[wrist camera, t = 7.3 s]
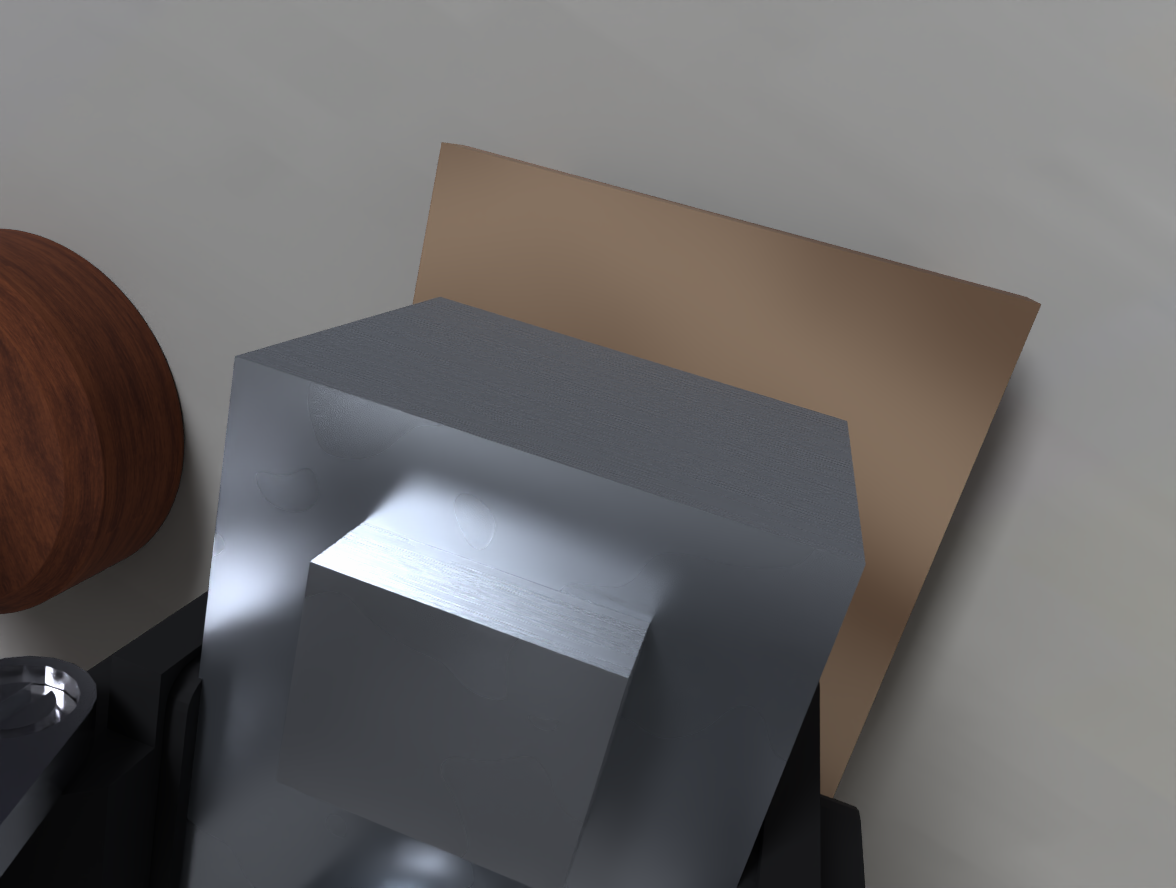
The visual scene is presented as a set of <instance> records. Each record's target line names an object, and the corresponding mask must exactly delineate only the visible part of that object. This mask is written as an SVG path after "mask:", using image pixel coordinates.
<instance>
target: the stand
mask: <svg viewBox="0 0 1176 888" xmlns="http://www.w3.org/2000/svg"><path fill="white" fill-rule="evenodd" d="M437 297H443V298H446V299H449V300H453V301H456V302H459V303H462V304H466V305H469V306H472V307H476V308H479V309H482V310H485V311H489V312H492V313H495V314H498V315H502V316H505V317H508V318H512V319H515V320H518V321H521V322H525V323H528V324H531V325H534V326H538V327H541V328H544V329H548V330H551V331H554V332H557V333H561V334H564V335H567V336H570V337H574V338H577V339H580V340H584V341H587V342H590V343H593V344H597V345H600V346H603V347H607V348H610V349H613V350H616V351H620V352H623V353H626V354H629V355H633V356H636V357H639V358H643V359H646V360H649V361H652V362H656V363H659V364H662V365H665V366H669V367H672V368H675V369H679V370H682V371H685V372H688V373H692V374H695V375H698V376H702V377H705V378H708V379H711V380H715V381H718V382H721V383H724V384H728V385H731V386H734V387H738V388H741V389H744V390H747V391H751V392H754V393H757V394H760V395H764V396H767V397H770V398H774V399H777V400H780V401H783V402H787V403H790V404H793V405H796V406H800V407H803V408H806V409H810V410H813V411H816V412H819V413H823V414H826V415H829V416H833V417H836V418H839V419H842V420H846V421H847V423H848V431H849V438H850V446H851V454H852V462H853V470H854V478H855V485H856V493H857V501H858V509H859V517H860V525H861V532H862V540H863V548H864V556H865V564H866V565H865V567H864V570H863V572H862V575H861V577H860V580H859V582H858V585H857V587H856V590H855V592H854V595H853V597H852V600H851V602H850V605H849V607H848V610H847V612H846V615H845V617H844V620H843V622H842V625H841V627H840V630H839V632H838V635H837V637H836V640H835V642H834V645H833V647H832V650H831V652H830V655H829V657H828V660H827V662H826V665H825V667H824V670H823V672H822V675H821V677H820V680H819V682H820V794H822V795H825V796H828V797H830V798H833V797H834V794H835V792H836V790H837V787H838V785H839V782H840V780H841V778H842V775H843V773H844V771H845V768H846V766H847V763H848V761H849V759H850V756H851V754H852V752H853V749H854V747H855V745H856V742H857V740H858V737H859V735H860V733H861V730H862V728H863V726H864V723H865V721H866V718H867V716H868V714H869V711H870V709H871V707H872V704H873V702H874V699H875V697H876V695H877V692H878V690H879V688H880V685H881V683H882V680H883V678H884V676H885V673H886V671H887V669H888V666H889V664H890V662H891V659H892V657H893V654H894V652H895V650H896V647H897V645H898V643H899V640H900V638H901V635H902V633H903V631H904V628H905V626H906V624H907V621H908V619H909V616H910V614H911V612H912V609H913V607H914V605H915V602H916V600H917V598H918V595H919V593H920V590H921V588H922V586H923V583H924V581H925V579H926V576H927V574H928V571H929V569H930V567H931V564H932V562H933V560H934V557H935V555H936V552H937V550H938V548H939V545H940V543H941V541H942V538H943V536H944V533H945V531H946V529H947V526H948V524H949V522H950V519H951V517H952V515H953V512H954V510H955V507H956V505H957V503H958V500H959V498H960V496H961V493H962V491H963V488H964V486H965V484H966V481H967V479H968V477H969V474H970V472H971V469H972V467H973V465H974V462H975V460H976V458H977V455H978V453H979V451H980V448H981V446H982V443H983V441H984V439H985V436H986V434H987V432H988V429H989V427H990V424H991V422H992V420H993V417H994V415H995V413H996V410H997V408H998V405H999V403H1000V401H1001V398H1002V396H1003V394H1004V391H1005V389H1006V387H1007V384H1008V382H1009V379H1010V377H1011V375H1012V372H1013V370H1014V368H1015V365H1016V363H1017V360H1018V358H1019V356H1020V353H1021V351H1022V349H1023V346H1024V344H1025V341H1026V339H1027V337H1028V334H1029V332H1030V330H1031V327H1032V325H1033V322H1034V320H1035V318H1036V315H1037V313H1038V311H1039V308H1040V306H1041V304H1040V303H1037V302H1035V301H1033V300H1031V299H1029V298H1027V297H1024V296H1021V295H1017V294H1013V293H1010V292H1006V291H1002V290H999V289H995V288H991V287H987V286H984V285H980V284H976V283H973V282H969V281H965V280H961V279H958V278H954V277H950V276H947V275H943V274H939V273H936V272H932V271H928V270H924V269H921V268H917V267H913V266H910V265H906V264H902V263H898V262H895V261H891V260H887V259H884V258H880V257H876V256H872V255H869V254H865V253H861V252H858V251H854V250H850V249H847V248H843V247H839V246H835V245H832V244H828V243H824V242H821V241H817V240H813V239H809V238H806V237H802V236H798V235H795V234H791V233H787V232H784V231H780V230H776V229H772V228H769V227H765V226H761V225H758V224H754V223H750V222H746V221H743V220H739V219H735V218H732V217H728V216H724V215H720V214H717V213H713V212H709V211H706V210H702V209H698V208H695V207H691V206H687V205H683V204H680V203H676V202H672V201H669V200H665V199H661V198H657V197H654V196H650V195H646V194H643V193H639V192H635V191H632V190H628V189H624V188H620V187H617V186H613V185H609V184H606V183H602V182H598V181H594V180H591V179H587V178H583V177H580V176H576V175H572V174H568V173H565V172H561V171H557V170H554V169H550V168H546V167H543V166H539V165H535V164H531V163H528V162H524V161H520V160H517V159H513V158H509V157H505V156H502V155H498V154H494V153H491V152H487V151H483V150H480V149H476V148H472V147H468V146H465V145H458V144H451V143H443V142H442V143H441V149H440V155H439V160H438V166H437V171H436V177H435V182H434V188H433V194H432V199H431V205H430V210H429V216H428V221H427V227H426V233H425V238H424V244H423V249H422V255H421V260H420V266H419V272H418V277H417V283H416V288H415V294H414V299H413V304H417V303H420V302H423V301H427V300H430V299H434V298H437Z"/></svg>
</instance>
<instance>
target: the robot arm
mask: <svg viewBox="0 0 1176 888" xmlns="http://www.w3.org/2000/svg"><path fill="white" fill-rule="evenodd" d="M207 600H208V591H207V592H205V593H204V594H202V595H201V596H199V597H198V598H196V599H195V600H193V601H192V602H190V603H189V604H187V605H186V606H184V607H183V608H181V609H180V610H178V611H177V612H175V613H174V614H172V615H171V616H169V617H168V618H166V619H165V620H163V621H162V622H160V623H159V624H157V625H156V626H154V627H153V628H151V629H150V630H148V631H147V632H145V633H144V634H142V635H141V636H139V637H138V638H136V639H135V640H133V641H132V642H130V643H129V644H127V645H126V646H124V647H123V648H121V649H120V650H118V651H117V652H115V653H114V654H112V655H111V656H109V657H108V658H106V659H105V660H103V661H102V662H100V663H99V664H97V665H96V666H94V667H93V668H91V669H90V670H88V671H87V672H86V671H85V670H83V669H81V668H80V667H78V666H77V665H75V664H73V663H70V662H66V661H63V660H59V659H56V658H50V657H37V656H23V657H11V658H3V659H0V888H179V886H180V877H181V868H182V859H183V850H184V841H185V832H186V823H187V814H188V805H189V796H190V787H191V778H192V769H193V760H194V751H195V742H196V732H197V723H198V714H199V705H200V696H201V687H202V679H201V678H199V671H200V662H201V653H202V644H203V635H204V626H205V617H206V609H207ZM737 888H865V879H864V864H863V849H862V834H861V820H860V815H859V811H858V809H857V808H856V807H854V806H852V805H849V804H846V803H844V802H841V801H838V800H836V799H833V798H830V797H828V796H825V795H822V794H820V682H818V685H817V687H816V690H815V692H814V695H813V697H812V700H811V702H810V705H809V707H808V710H807V712H806V715H805V717H804V720H803V722H802V725H801V727H800V730H799V732H798V735H797V737H796V740H795V742H794V745H793V747H792V750H791V752H790V755H789V757H788V760H787V762H786V765H785V767H784V770H783V772H782V775H781V777H780V780H779V782H778V785H777V787H776V790H775V792H774V795H773V797H772V800H771V802H770V805H769V807H768V810H767V812H766V815H765V817H764V820H763V822H762V825H761V827H760V830H759V832H758V835H757V837H756V840H755V842H754V845H753V847H752V850H751V852H750V855H749V858H748V860H747V863H746V865H745V868H744V870H743V873H742V875H741V878H740V880H739V883H738V885H737Z"/></svg>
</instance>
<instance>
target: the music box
mask: <svg viewBox="0 0 1176 888" xmlns="http://www.w3.org/2000/svg"><path fill="white" fill-rule="evenodd" d="M183 454H184V434H183V423H182V415H181V409H180V404H179V399H178V395H177V391H176V388H175V385H174V381H173V378H172V375H171V373H170V370H169V367H168V365H167V362H166V360H165V357H164V355H163V353H162V351H161V349H160V347H159V345H158V343H157V341H156V339H155V337H154V336H153V334H152V332H151V331H150V329H149V327H148V326H147V324H146V322H145V321H144V319H143V318H142V317H141V315H140V314H139V312H138V311H137V310H136V308H135V307H134V306H133V304H132V303H131V302H130V301H129V299H128V298H127V297H126V296H125V295H124V294H123V293H122V291H121V290H120V289H119V288H118V287H117V286H116V285H115V284H114V283H113V282H112V281H111V280H110V279H109V278H108V277H107V276H105V275H104V274H103V273H102V272H101V271H100V270H99V269H97V268H96V267H95V266H93V265H92V264H91V263H90V262H88V261H87V260H85V259H84V258H82V257H81V256H80V255H78V254H76V253H75V252H73V251H71V250H70V249H68V248H66V247H64V246H62V245H60V244H58V243H56V242H54V241H51V240H49V239H46V238H44V237H41V236H38V235H35V234H31V233H27V232H23V231H18V230H11V229H0V614H6V613H13V612H18V611H22V610H25V609H28V608H31V607H34V606H36V605H39V604H41V603H43V602H45V601H47V600H48V599H50V598H52V597H54V596H56V595H58V594H60V593H62V592H63V591H65V590H67V589H69V588H71V587H73V586H75V585H77V584H78V583H80V582H82V581H84V580H86V579H88V578H90V577H92V576H93V575H95V574H97V573H99V572H101V571H103V570H105V569H107V568H108V567H110V566H112V565H114V564H116V563H118V562H120V561H122V560H123V559H125V558H127V557H129V556H130V555H132V554H133V553H135V552H136V551H138V550H139V549H140V548H141V547H143V546H144V545H145V544H146V543H147V542H148V541H149V540H150V539H151V538H152V537H153V536H154V534H155V533H156V532H157V531H158V529H159V528H160V526H161V525H162V523H163V522H164V520H165V519H166V517H167V515H168V513H169V511H170V509H171V507H172V505H173V502H174V499H175V497H176V494H177V490H178V487H179V483H180V478H181V473H182V466H183Z"/></svg>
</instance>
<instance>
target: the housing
mask: <svg viewBox="0 0 1176 888" xmlns="http://www.w3.org/2000/svg"><path fill="white" fill-rule="evenodd" d="M865 565H866V564H865V556H864V548H863V540H862V532H861V525H860V517H859V509H858V501H857V493H856V485H855V478H854V470H853V462H852V454H851V446H850V438H849V431H848V423H847V421H846V420H842V419H839V418H836V417H833V416H829V415H826V414H823V413H819V412H816V411H813V410H810V409H806V408H803V407H800V406H796V405H793V404H790V403H787V402H783V401H780V400H777V399H774V398H770V397H767V396H764V395H760V394H757V393H754V392H751V391H747V390H744V389H741V388H738V387H734V386H731V385H728V384H724V383H721V382H718V381H715V380H711V379H708V378H705V377H702V376H698V375H695V374H692V373H688V372H685V371H682V370H679V369H675V368H672V367H669V366H665V365H662V364H659V363H656V362H652V361H649V360H646V359H643V358H639V357H636V356H633V355H629V354H626V353H623V352H620V351H616V350H613V349H610V348H607V347H603V346H600V345H597V344H593V343H590V342H587V341H584V340H580V339H577V338H574V337H570V336H567V335H564V334H561V333H557V332H554V331H551V330H548V329H544V328H541V327H538V326H534V325H531V324H528V323H525V322H521V321H518V320H515V319H512V318H508V317H505V316H502V315H498V314H495V313H492V312H489V311H485V310H482V309H479V308H476V307H472V306H469V305H466V304H462V303H459V302H456V301H453V300H449V299H446V298H443V297H437V298H434V299H430V300H427V301H423V302H420V303H417V304H413V305H410V306H406V307H403V308H399V309H396V310H392V311H389V312H386V313H382V314H379V315H375V316H372V317H368V318H365V319H361V320H358V321H355V322H351V323H348V324H344V325H341V326H337V327H334V328H330V329H327V330H324V331H320V332H317V333H313V334H310V335H306V336H303V337H299V338H296V339H293V340H289V341H286V342H282V343H279V344H275V345H272V346H268V347H265V348H262V349H258V350H255V351H251V352H248V353H244V354H241V355H237V356H235V361H234V370H233V378H232V387H231V396H230V405H229V414H228V423H227V431H226V440H225V449H224V458H223V467H222V476H221V485H220V493H219V502H218V511H217V520H216V529H215V538H214V547H213V555H212V564H211V573H210V582H209V591H208V600H207V609H206V617H205V626H204V635H203V644H202V653H201V662H200V671H199V678H201V679H202V687H201V696H200V705H199V714H198V723H197V732H196V742H195V751H194V760H193V769H192V778H191V787H190V796H189V805H188V814H187V823H186V832H185V841H184V850H183V859H182V868H181V877H180V886H179V888H737V885H738V883H739V880H740V878H741V875H742V873H743V870H744V868H745V865H746V863H747V860H748V858H749V855H750V852H751V850H752V847H753V845H754V842H755V840H756V837H757V835H758V832H759V830H760V827H761V825H762V822H763V820H764V817H765V815H766V812H767V810H768V807H769V805H770V802H771V800H772V797H773V795H774V792H775V790H776V787H777V785H778V782H779V780H780V777H781V775H782V772H783V770H784V767H785V765H786V762H787V760H788V757H789V755H790V752H791V750H792V747H793V745H794V742H795V740H796V737H797V735H798V732H799V730H800V727H801V725H802V722H803V720H804V717H805V715H806V712H807V710H808V707H809V705H810V702H811V700H812V697H813V695H814V692H815V690H816V687H817V685H818V682H819V680H820V677H821V675H822V672H823V670H824V667H825V665H826V662H827V660H828V657H829V655H830V652H831V650H832V647H833V645H834V642H835V640H836V637H837V635H838V632H839V630H840V627H841V625H842V622H843V620H844V617H845V615H846V612H847V610H848V607H849V605H850V602H851V600H852V597H853V595H854V592H855V590H856V587H857V585H858V582H859V580H860V577H861V575H862V572H863V570H864V567H865Z"/></svg>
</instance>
